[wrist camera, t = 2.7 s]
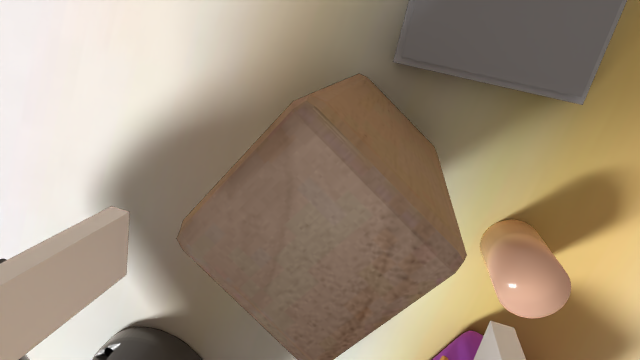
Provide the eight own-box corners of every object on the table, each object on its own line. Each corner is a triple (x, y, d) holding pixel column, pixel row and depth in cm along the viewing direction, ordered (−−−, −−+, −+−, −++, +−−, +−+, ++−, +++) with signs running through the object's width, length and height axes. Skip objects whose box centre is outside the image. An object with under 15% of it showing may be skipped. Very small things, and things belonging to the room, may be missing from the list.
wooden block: (282, 148, 38) (159, 241, 19) (360, 67, 34) (303, 85, 15) (358, 223, 38) (311, 385, 20) (441, 152, 35) (481, 267, 16)
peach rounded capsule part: (472, 261, 37) (486, 306, 31) (491, 212, 36) (510, 249, 29) (528, 277, 37) (554, 326, 30) (550, 228, 35) (582, 269, 28)
